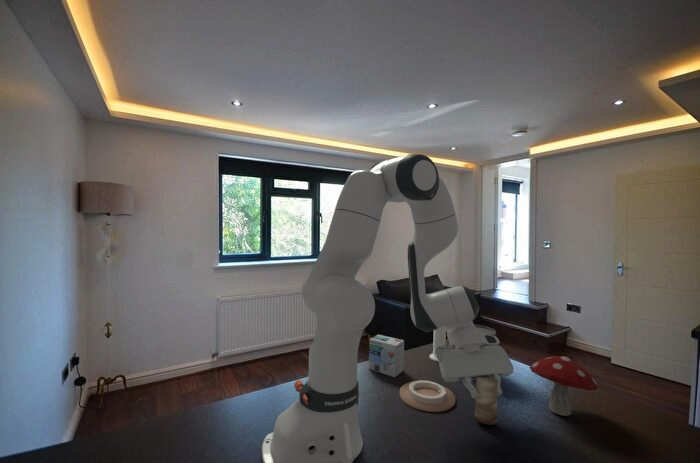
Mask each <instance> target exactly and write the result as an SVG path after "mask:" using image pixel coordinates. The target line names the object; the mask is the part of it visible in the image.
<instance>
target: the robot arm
mask: <svg viewBox="0 0 700 463" xmlns="http://www.w3.org/2000/svg"><path fill="white" fill-rule="evenodd" d="M390 202H391V203H392V202H393V203H406V204H408V206H409V207H410V208H409V209H410V211H411V217H412V220H413V223H414V224H413V225H414V233H413V239H412V240H411V242H409V243H408V246H407V266H408V267H407V268H408V278H409V279H408V280H409V291H410V293H409V295H410V311H409V312H410V317H411V320H412V322H413V324H414V326H415V328H417V329H419V330H421V331H423V332H425V333H430V332H432V331H433V332H434V330H436V329H438V328H440V327H444V328H445V329H446V336H447V340H448V342H449V344H448V345H445V346H439V347H438V348H437V349H436V351H435V353H436V356H437V359H438V360H439V362H438V364H439V369H440V370H439V371H440V374H441V378H442V379H443V380H444V381H445V382H446V383H452V382H462V384H463V386H464V387H465V388H466V389H467V390H468V391H469V392H470V395H471V398H473V399H476V398H479V397H480V396H481V394H480V392H479V389H478V388H476V386H474V385H473V384H472V381H474V380H475V381H476V378H477V377H478V376H489V377H492V378H494V379H496V380H497V382H498V386H497V396H501V395H502V394H503V391H502V390H503V389H502V388H501V381H502V380H501V378H504V377H505V378H506V377H508V376H510V375H512V374H513V373H514V365H513V363H512V360H511V359H510V357H509V355H508V354H507V352H506V350H505V349H504V348H503V346H501V345H500V342H501V341H500V340H499V337H497V336H496V337H495V336H491V335H487V334H484V333H482V332H478V330H477V328H476V327H475V325H476V324H474V322H473V320H475V319H476V318H477V316H478V314H479V311H480V305H479V303H478V301H477V298H476V297H475V293H474V292H473V291H472V290H471V289H470V288H468V287H467V286H465V285H457V286H456V285H455V286H452V287H449V288H445V289H442V290H438V291H434V292H431V293H426V283H425V269H426V266H427V265H428V264H429V262H431V260H432V259H433V258H435V257H436V256H438V255H439V254H441V253H442V252H443V251H445V250H446V249H448V248H449V247H450V246H451V245H452V243H453V242H454V241H455V239H456V238H457V235H458V233H459V224H458V218H457V214H456V209H455V207H454V203H453V200H452V198H451V194H450V191H449V189H448V187H447V185H446V183H445V181H444V180H443V179H442V178H441V177H440V176H439V172H438V169H437V166H436V165H435V162H434V161H433V160H432V159H431V158H430V157H429V156H427V155H425V154H421V153H410V154H409V153H408V154H406V155H402V156H398V157H397V156H396V157H391V158H388V159H386V160H384V161H383V160H382V161H381V162H380V161H379V162H377V163H375V164H373V165H371V167H370V168H369V169H368V170H367V169H359V170H356V171H353V172H352V173H350V175H348V177H347V180H346V181H345V183H344V184H343V187H342V189H341V190H340V194H339V196H338V198H337V201H336V205H335V208H334V211H333V214H332V218H331V221H330V225H329V229H328V231H327V236H326V238H325V241H324V243H323V246H322V248H321V250H320V252H319V254H318V256H317V258H316V260H315V262H314V264H313V267H312V269H311V270H310V273H309V275H308V276H306V278H305V279H304V280H303V283H302V286H301V296H302V299H303V301H304V304H305V305H306V307H307V308H308V309H309V310H310V311H311V312H312V313H314V315H315V316H316V317H315V318H316V329H315V334H314V338H313V342H312V343H311V344H310V346H309V348H308V380H307V381H306V382H305V384H304V382H303V381H302V380H301V379H298V380H296V381H295V382H294V386H293V387H294V389H295V391H296V392H297V393H299V394H298V397H299V398H298V399H297V400H296V401H295V402H294V403H292V404H291V405H290V406H289V407H287V408H286V409H285V410H283V412H281V413H280V414H279V415H278V417H277V418H276V420H275V423H274V428H273V431H272V432H270V433H268V434H266V436H265V437H264V439H263V441H262V444H261V445H262V446H261V459H262V460H261V461H262V463H353V462H354V460H355V459H356V458H357V457H358V456H359V455H360V453H361V452H362V449H363V447H364V446H363V445H364V443H363V442H364V440H363V438H362V434H361V430H360V424H359V415H358V405H359V398H360V397H359V396H360V390H359V385H360V384H359V381H358V358H359V356H358V354H359V347H360V342H361V338H362V334H363V332H364V329H366V328H367V326H369V324H370V323H371V322H372V320H373V317H374V315H375V312H376V303H375V299H374V296H373V294H372V292H371V291H370V290H369V289H368V288H367V287H366V286H365V285H364V284H363V283H361V281H359V280H357V279H355V278H356V276H357V274H358V273H359V271H360V269H361V267H362V266H363V264H364V263H365V261H367V260H368V259H369V258H370V257H371V255H372V253H373V250H374V246H375V242H376V240H377V235H378V231H379V228H380V224H381V220H382V217H383V211H384V208H385V206H386V205H387V203H390ZM438 349H439V350H438Z"/></svg>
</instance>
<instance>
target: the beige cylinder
mask: <svg viewBox="0 0 700 463" xmlns="http://www.w3.org/2000/svg"><path fill="white" fill-rule="evenodd" d="M475 382H476V384H475V389H476V388H478V389H479V392H480V394H481V396H480V397H479V398H475V408H474V419H475V420H476V421H477V422H479V423H481V424H484V425H488V426H493V425H496V424H497V423H498V415H497V413H498V412H497V410H498V395H497V386H498V382H497V380H496V379H494V378H492V377H489V376H478V377H477V378H476V379H475Z"/></svg>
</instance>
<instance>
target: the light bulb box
mask: <svg viewBox="0 0 700 463" xmlns="http://www.w3.org/2000/svg"><path fill="white" fill-rule="evenodd" d="M368 345H369V346H368V348H369V349H368V351H369V352H368V369H369V370H371V371H373V372H378V373H381V374H383V375H386V376H390V377H391V378H396V377H397V376H399V375H400V374H401V373H403V371H404V361H405V359H404V358H405V357H404V356H405V352H404V351H405V340H403V339H399V338H395V337H391V336H386V335H382V334H377V335H375V336H373V337H371V338H370V339H369V344H368Z"/></svg>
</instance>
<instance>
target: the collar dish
mask: <svg viewBox="0 0 700 463" xmlns="http://www.w3.org/2000/svg"><path fill="white" fill-rule="evenodd" d="M399 388H400V389H399V396H400V400H401V401H402V402H403V403H405V404H406V405H407V406H409V407H410V408H413V409H415V410H418V411H423V412H427V413H442V412H446V411H449V410H451V409H452V408H454V406H455V405H456V396H455V394H454V393H453V392H452V391H451V390H450V389H449V388H447V387H446V386H444V385H442V384H439V383H436V382H434V381H431V380H421V379H420V380H416V381H415V380H413V381H409V382H407V383H405V384H403V385H402V386H401V387H399Z"/></svg>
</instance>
